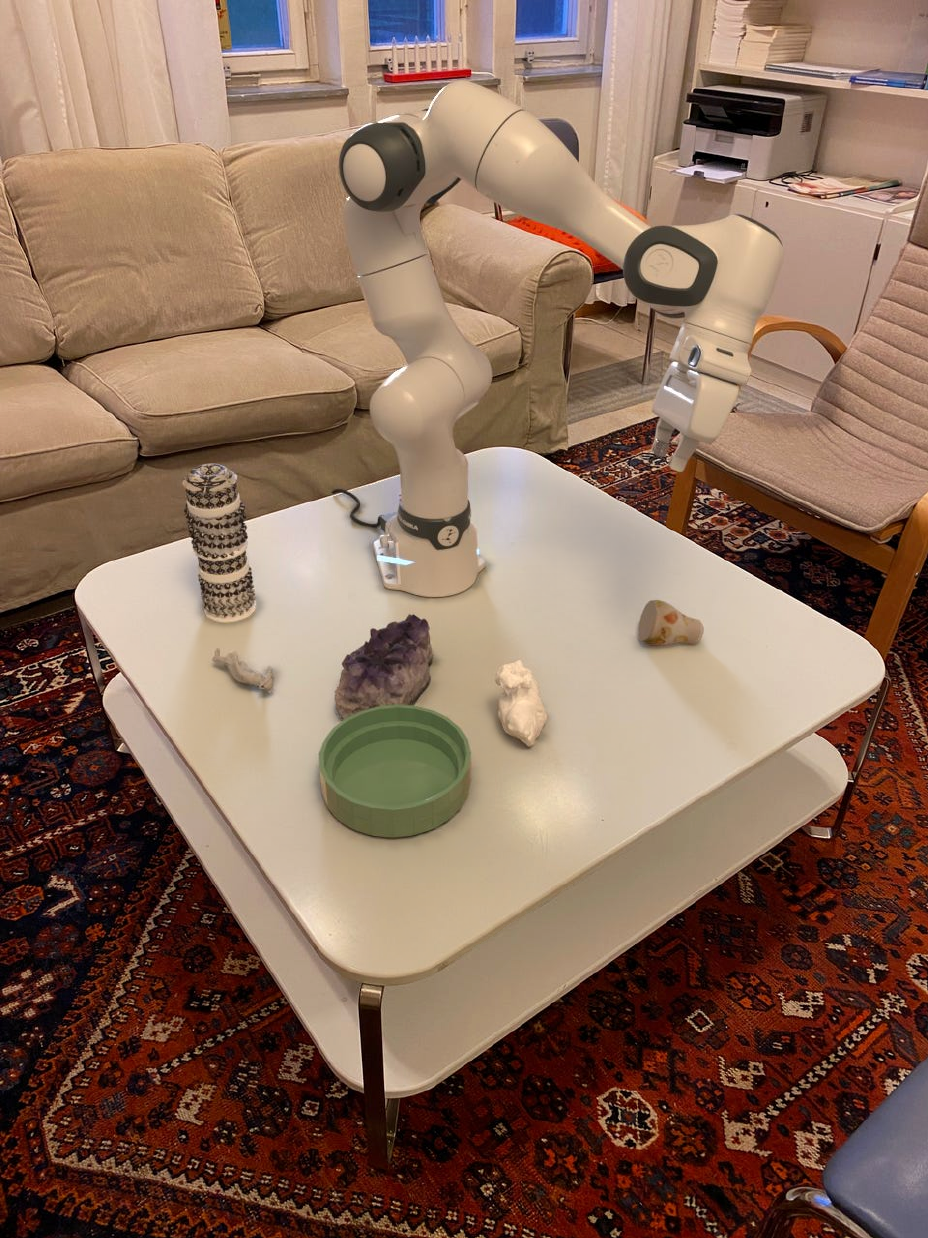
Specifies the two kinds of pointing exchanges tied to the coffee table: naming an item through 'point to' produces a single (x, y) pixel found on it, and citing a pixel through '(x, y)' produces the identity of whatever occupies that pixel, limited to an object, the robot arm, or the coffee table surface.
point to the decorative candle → (219, 542)
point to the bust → (520, 703)
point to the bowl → (395, 770)
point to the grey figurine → (245, 671)
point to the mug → (667, 625)
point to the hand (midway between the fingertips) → (665, 461)
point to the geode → (386, 668)
